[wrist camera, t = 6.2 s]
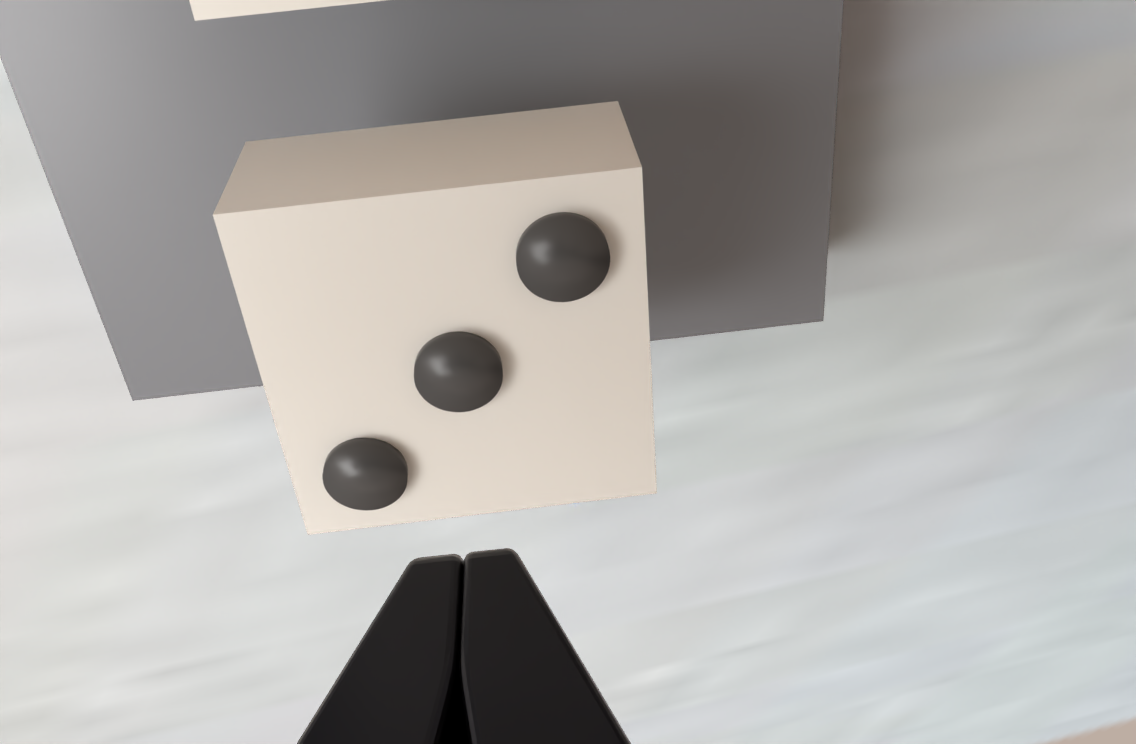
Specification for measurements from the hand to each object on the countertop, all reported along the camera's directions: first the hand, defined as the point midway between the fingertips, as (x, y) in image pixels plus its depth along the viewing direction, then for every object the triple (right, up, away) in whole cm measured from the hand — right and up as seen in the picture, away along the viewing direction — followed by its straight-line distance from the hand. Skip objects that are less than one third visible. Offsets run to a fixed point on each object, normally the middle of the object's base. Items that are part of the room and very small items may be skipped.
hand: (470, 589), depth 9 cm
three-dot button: (-1, +3, +5) cm, 6 cm away
